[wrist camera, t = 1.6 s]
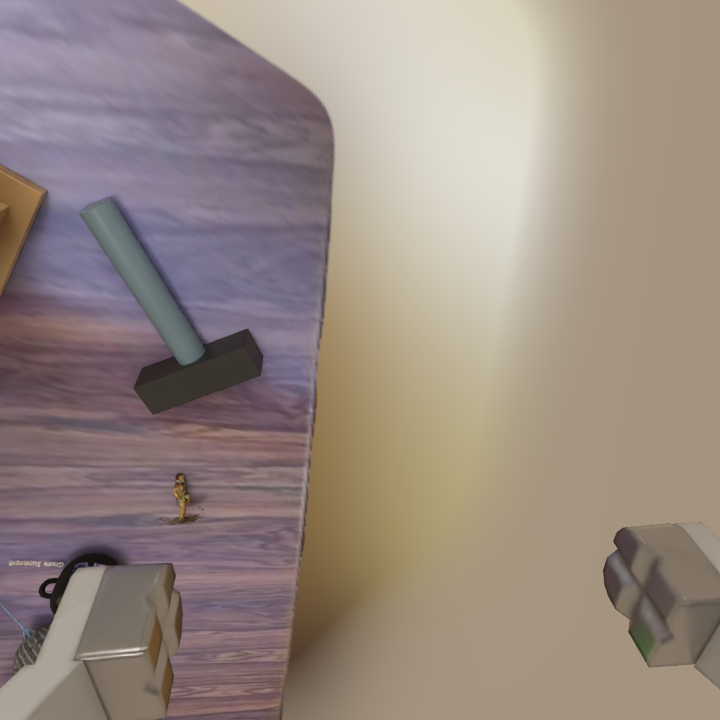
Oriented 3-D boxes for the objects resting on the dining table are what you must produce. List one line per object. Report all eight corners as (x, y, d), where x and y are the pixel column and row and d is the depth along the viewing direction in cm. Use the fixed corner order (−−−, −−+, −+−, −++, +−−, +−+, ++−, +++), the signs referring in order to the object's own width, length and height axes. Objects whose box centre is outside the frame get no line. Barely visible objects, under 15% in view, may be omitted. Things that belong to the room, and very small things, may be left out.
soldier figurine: (189, 521, 52) (183, 475, 52) (175, 523, 51) (169, 477, 52) (195, 515, 54) (189, 471, 54) (182, 517, 54) (176, 473, 54)
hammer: (39, 225, 39) (21, 239, 37) (162, 174, 38) (153, 185, 36) (160, 394, 48) (152, 415, 45) (263, 356, 47) (261, 375, 44)
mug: (129, 545, 57) (108, 609, 51) (131, 582, 60) (112, 647, 54) (5, 540, 55) (-32, 607, 49) (14, 579, 58) (-20, 646, 52)
